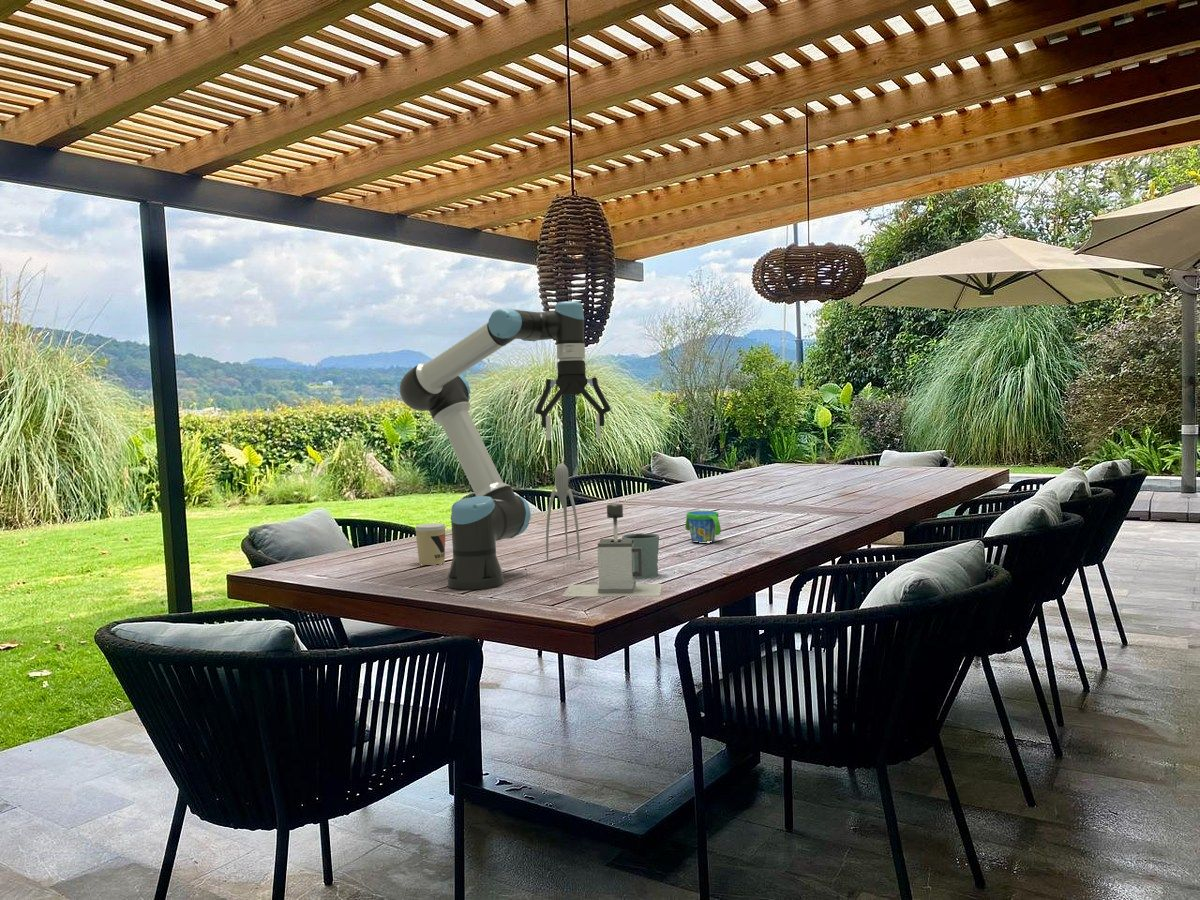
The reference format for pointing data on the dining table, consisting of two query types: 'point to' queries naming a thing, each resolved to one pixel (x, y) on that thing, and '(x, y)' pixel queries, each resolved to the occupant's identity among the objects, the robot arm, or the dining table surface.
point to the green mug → (646, 553)
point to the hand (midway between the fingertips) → (573, 439)
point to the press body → (617, 565)
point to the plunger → (615, 516)
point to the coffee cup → (431, 543)
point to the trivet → (593, 591)
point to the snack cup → (703, 525)
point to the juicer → (562, 503)
